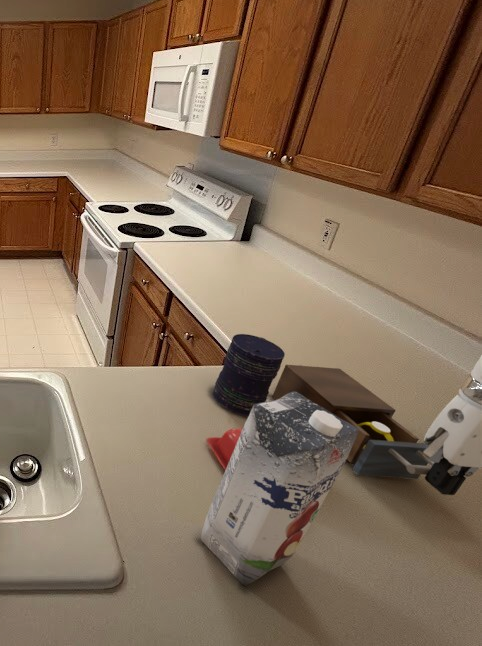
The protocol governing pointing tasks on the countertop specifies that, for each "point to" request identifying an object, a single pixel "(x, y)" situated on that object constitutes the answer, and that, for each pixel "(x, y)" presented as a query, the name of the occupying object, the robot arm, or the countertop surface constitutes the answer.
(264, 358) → the storage jar
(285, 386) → the cabinet
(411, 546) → the countertop surface
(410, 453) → the drawer
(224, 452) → the butter dish
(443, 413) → the robot arm
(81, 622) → the countertop surface
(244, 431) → the juice carton
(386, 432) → the watch
